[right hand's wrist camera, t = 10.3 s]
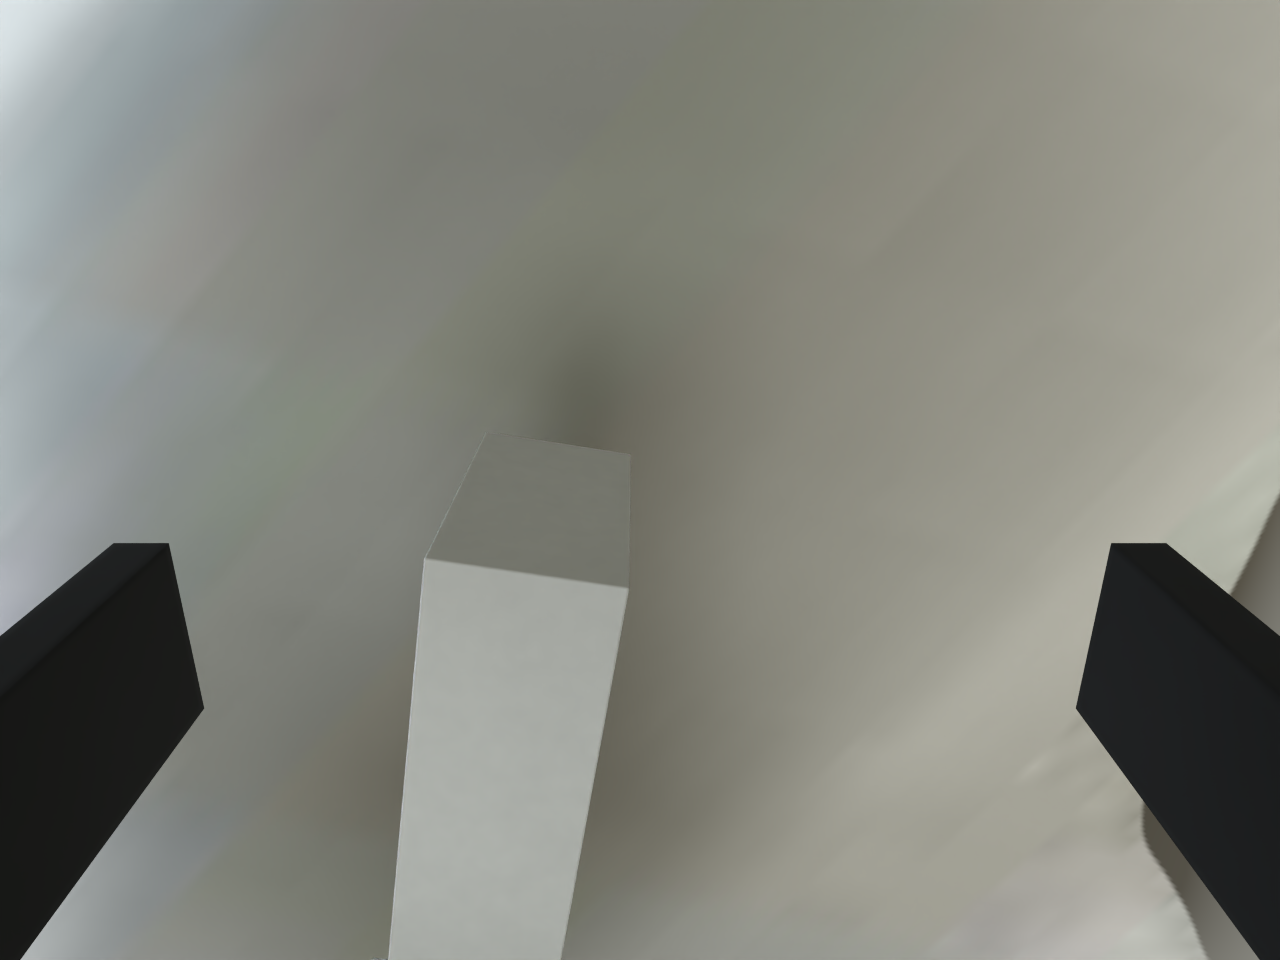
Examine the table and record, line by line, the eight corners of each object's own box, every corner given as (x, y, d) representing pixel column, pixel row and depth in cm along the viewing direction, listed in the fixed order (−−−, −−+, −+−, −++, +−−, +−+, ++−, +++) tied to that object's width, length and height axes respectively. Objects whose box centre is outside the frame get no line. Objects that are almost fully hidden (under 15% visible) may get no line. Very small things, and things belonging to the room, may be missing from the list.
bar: (485, 430, 30) (423, 558, 21) (631, 453, 31) (629, 588, 22) (426, 960, 39) (365, 1206, 30) (541, 973, 39) (513, 1221, 31)
